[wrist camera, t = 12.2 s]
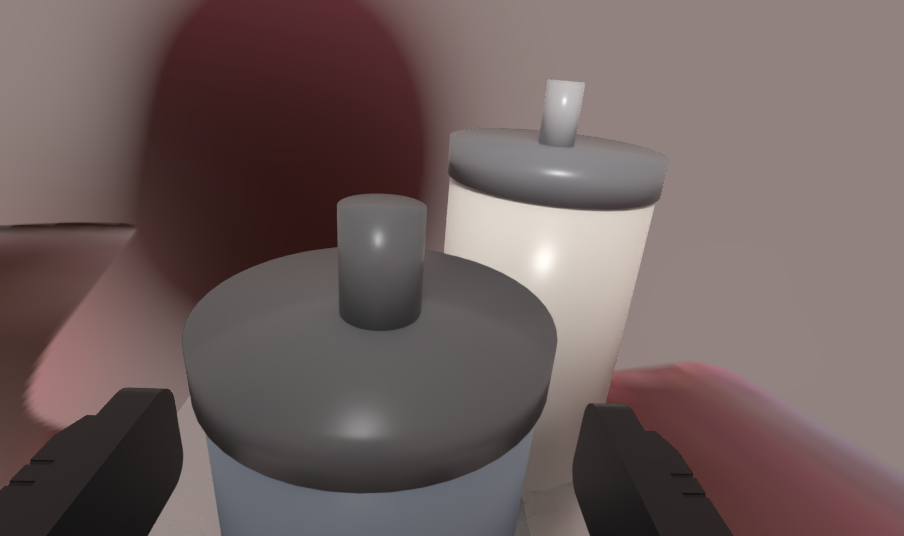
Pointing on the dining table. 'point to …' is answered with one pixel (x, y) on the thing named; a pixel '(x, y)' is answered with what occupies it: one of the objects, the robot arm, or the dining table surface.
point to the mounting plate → (197, 523)
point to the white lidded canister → (558, 247)
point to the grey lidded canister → (369, 385)
